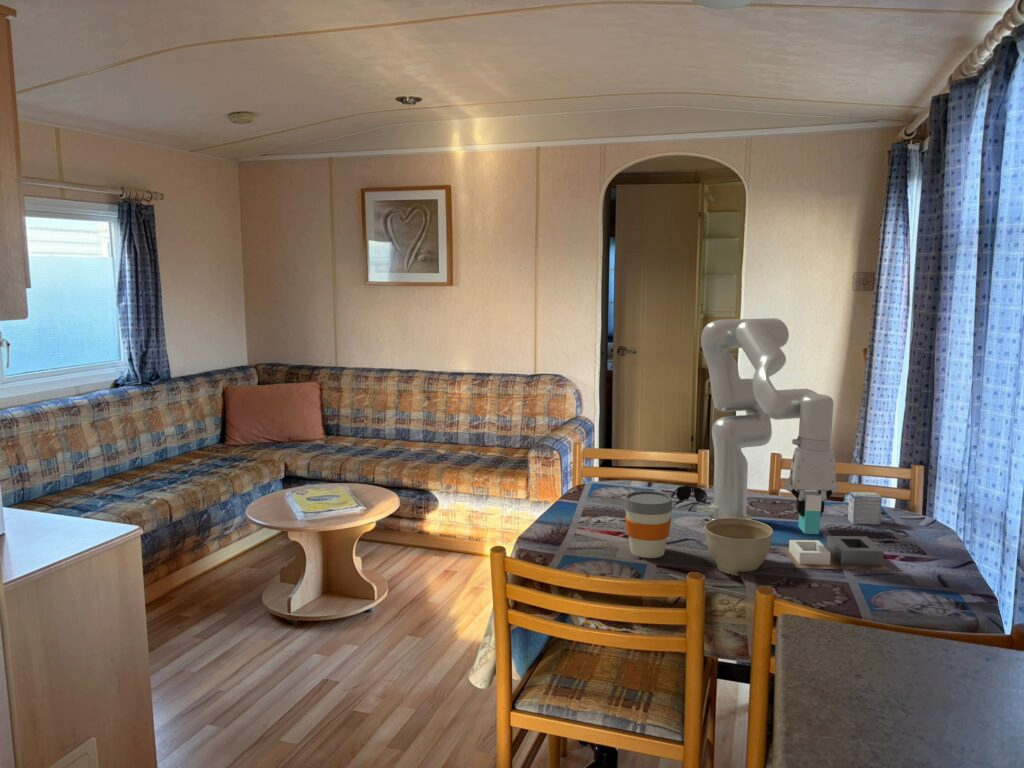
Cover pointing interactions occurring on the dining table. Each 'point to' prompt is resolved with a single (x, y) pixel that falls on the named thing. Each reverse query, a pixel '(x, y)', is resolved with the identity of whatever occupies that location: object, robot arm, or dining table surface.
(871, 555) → the port block
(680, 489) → the sunglasses
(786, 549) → the panel board
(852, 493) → the medicine box
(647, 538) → the reusable coffee cup
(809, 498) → the plug
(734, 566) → the planter bowl
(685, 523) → the dining table surface
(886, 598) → the dining table surface
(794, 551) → the white rectangular frame
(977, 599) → the dining table surface
